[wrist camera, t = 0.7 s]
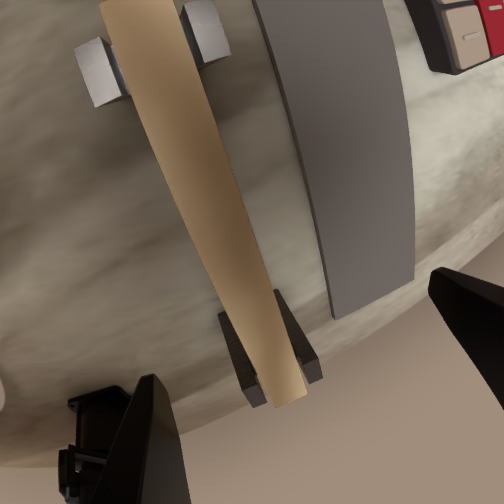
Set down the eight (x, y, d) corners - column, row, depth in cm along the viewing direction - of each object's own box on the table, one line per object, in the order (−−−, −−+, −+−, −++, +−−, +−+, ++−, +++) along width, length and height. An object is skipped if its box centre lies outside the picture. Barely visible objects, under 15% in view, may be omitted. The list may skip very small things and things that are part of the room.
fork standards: (227, 334, 26) (253, 408, 19) (106, 64, 14) (73, 49, 8) (284, 310, 26) (323, 377, 20) (190, 31, 15) (211, -4, 8)
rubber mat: (332, 316, 28) (335, 320, 28) (240, -31, 13) (243, -34, 13) (410, 276, 29) (414, 279, 28) (363, -38, 14) (368, -40, 13)
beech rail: (265, 382, 22) (275, 407, 20) (108, 17, 9) (98, 3, 7) (295, 369, 22) (307, 394, 20) (163, -4, 10) (164, -22, 8)
